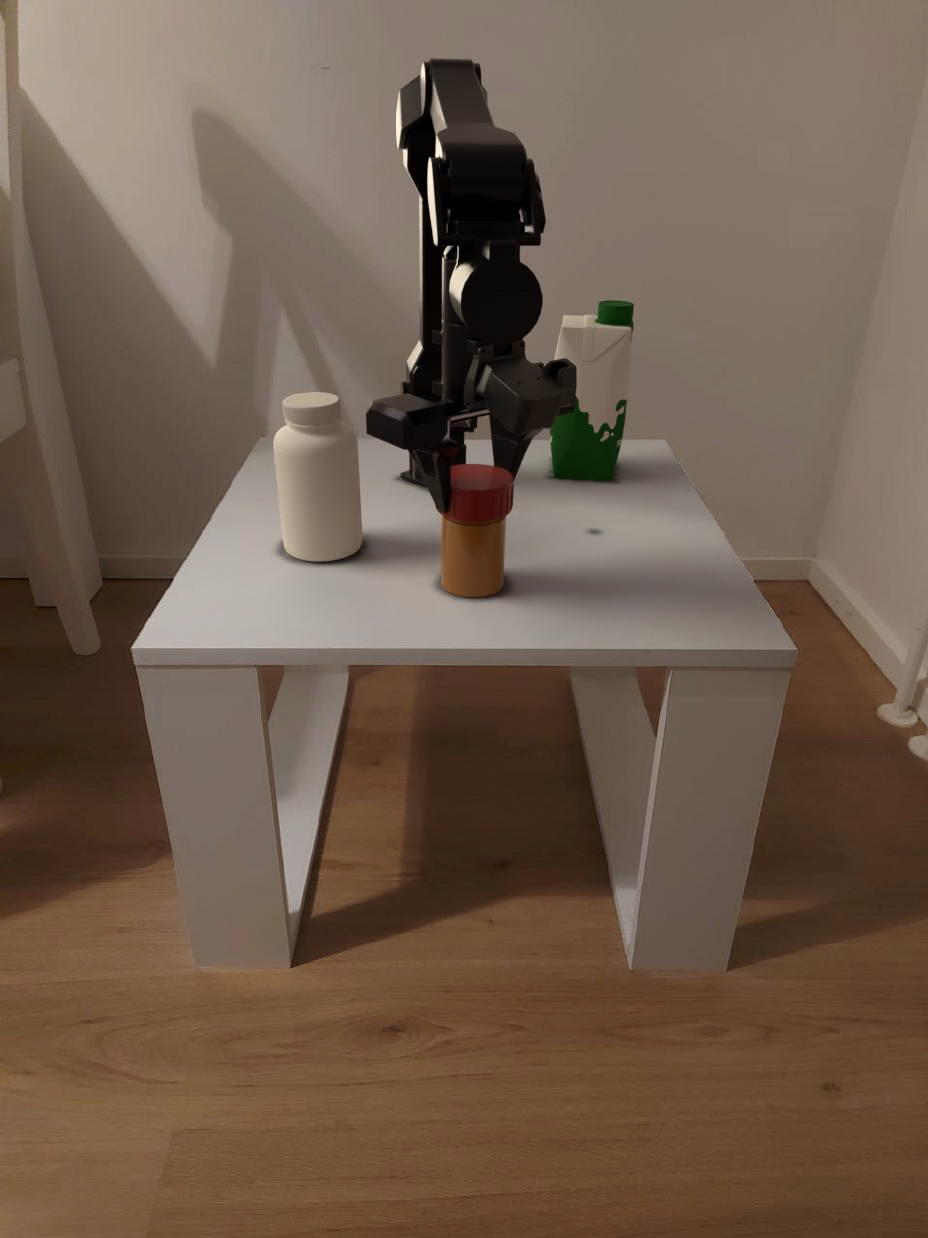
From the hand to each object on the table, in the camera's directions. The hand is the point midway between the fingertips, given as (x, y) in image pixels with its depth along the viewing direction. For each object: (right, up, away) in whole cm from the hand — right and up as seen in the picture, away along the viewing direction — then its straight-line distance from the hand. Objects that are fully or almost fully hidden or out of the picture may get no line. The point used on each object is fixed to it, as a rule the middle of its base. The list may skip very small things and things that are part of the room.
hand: (473, 502), depth 77 cm
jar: (0, -7, +4) cm, 8 cm away
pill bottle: (-15, -3, +11) cm, 19 cm away
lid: (0, 0, 0) cm, 0 cm away
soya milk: (+14, +8, +32) cm, 36 cm away
